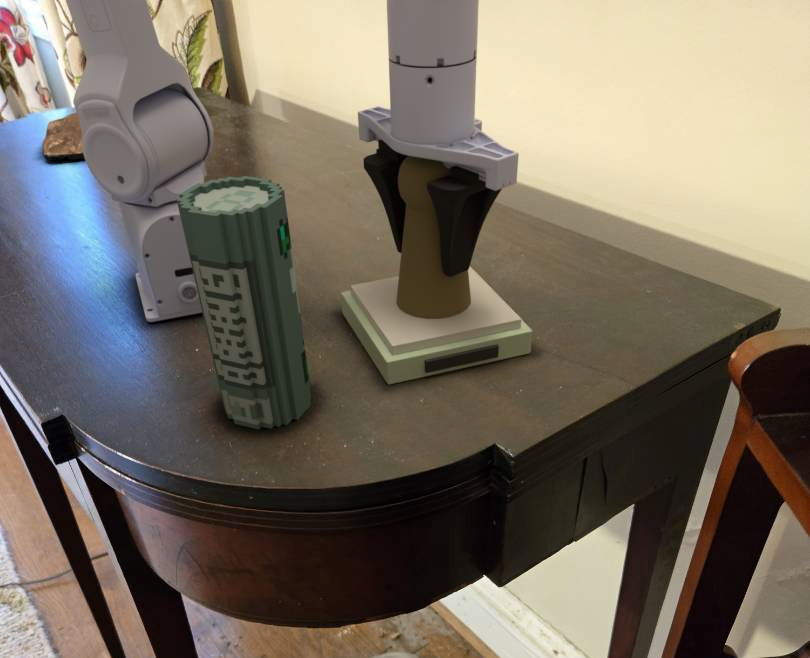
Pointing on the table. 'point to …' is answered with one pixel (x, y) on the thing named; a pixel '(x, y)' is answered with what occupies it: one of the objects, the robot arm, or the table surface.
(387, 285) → the scale
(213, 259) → the can
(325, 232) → the table surface
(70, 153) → the brown stone slab
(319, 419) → the table surface
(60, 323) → the table surface
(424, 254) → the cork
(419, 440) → the table surface
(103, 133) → the robot arm
